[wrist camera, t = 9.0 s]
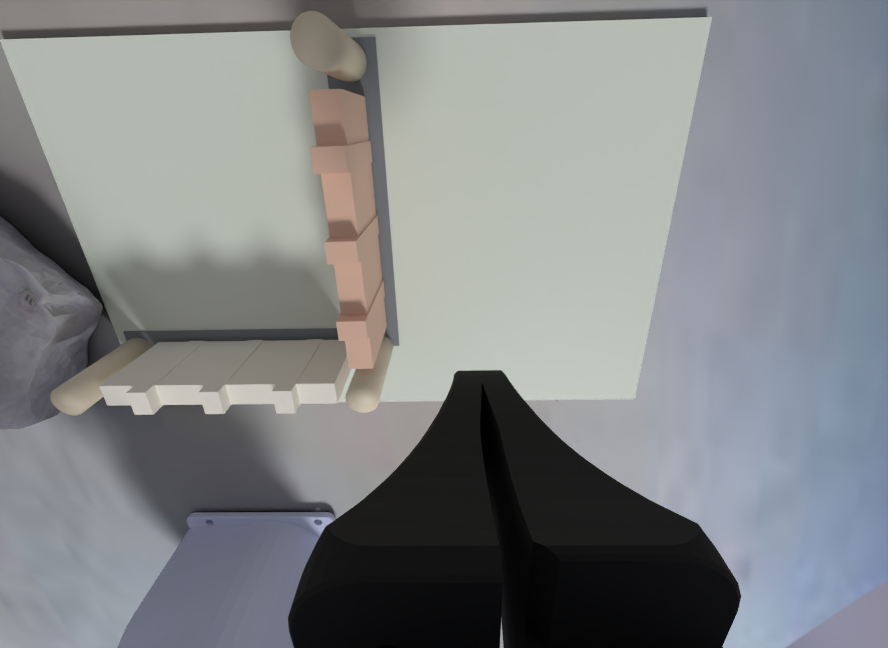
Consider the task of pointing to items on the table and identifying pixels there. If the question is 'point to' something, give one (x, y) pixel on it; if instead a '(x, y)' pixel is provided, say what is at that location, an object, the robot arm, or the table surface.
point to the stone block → (38, 330)
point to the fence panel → (345, 184)
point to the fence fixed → (224, 376)
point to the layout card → (383, 189)
